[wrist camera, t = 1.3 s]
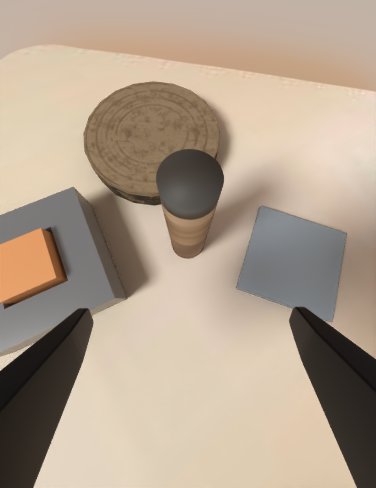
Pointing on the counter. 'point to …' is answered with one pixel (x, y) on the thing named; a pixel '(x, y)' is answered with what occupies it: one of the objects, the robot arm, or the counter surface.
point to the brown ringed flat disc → (146, 135)
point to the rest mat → (293, 262)
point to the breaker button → (29, 266)
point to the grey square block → (75, 264)
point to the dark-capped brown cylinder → (189, 197)
